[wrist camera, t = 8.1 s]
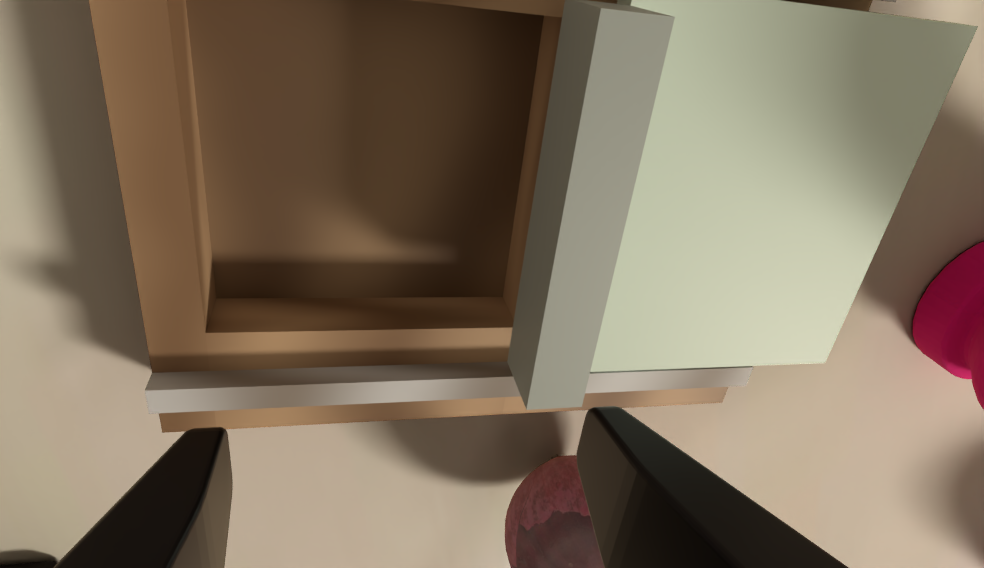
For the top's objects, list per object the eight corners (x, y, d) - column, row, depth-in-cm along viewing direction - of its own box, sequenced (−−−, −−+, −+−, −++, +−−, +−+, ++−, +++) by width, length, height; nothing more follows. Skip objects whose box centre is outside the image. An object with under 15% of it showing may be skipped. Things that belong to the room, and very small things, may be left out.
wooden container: (179, 382, 21) (155, 451, 18) (90, -229, 13) (26, -270, 10) (691, 364, 25) (734, 416, 22) (842, -93, 18) (933, -97, 15)
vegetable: (580, 522, 29) (684, 771, 20) (459, 503, 26) (519, 776, 18) (647, 423, 26) (795, 657, 18) (522, 393, 24) (625, 646, 16)
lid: (498, 359, 20) (523, 424, 17) (558, -29, 14) (605, -21, 12) (809, 349, 22) (870, 403, 20) (952, 22, 17) (1059, 38, 15)
